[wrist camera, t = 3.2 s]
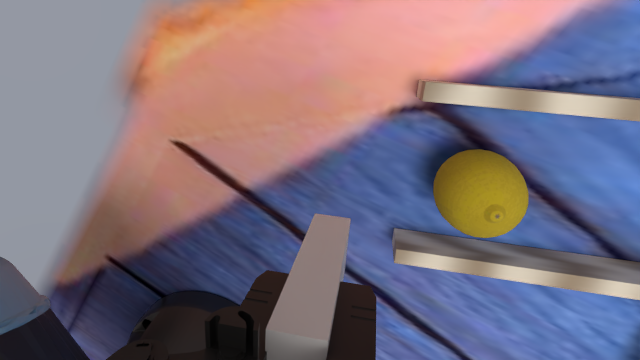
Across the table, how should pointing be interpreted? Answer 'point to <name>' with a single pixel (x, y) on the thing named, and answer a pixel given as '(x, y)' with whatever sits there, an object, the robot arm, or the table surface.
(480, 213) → the lemon
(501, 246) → the channel
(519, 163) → the table surface
